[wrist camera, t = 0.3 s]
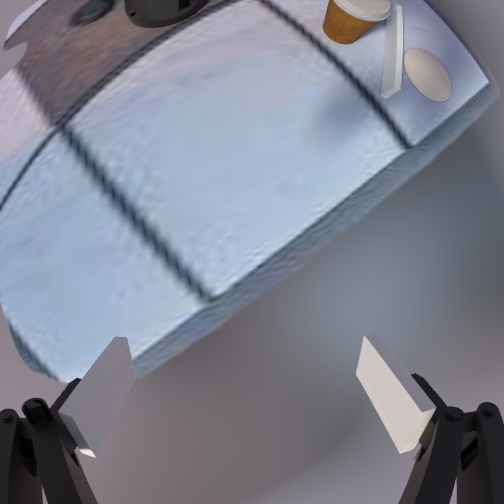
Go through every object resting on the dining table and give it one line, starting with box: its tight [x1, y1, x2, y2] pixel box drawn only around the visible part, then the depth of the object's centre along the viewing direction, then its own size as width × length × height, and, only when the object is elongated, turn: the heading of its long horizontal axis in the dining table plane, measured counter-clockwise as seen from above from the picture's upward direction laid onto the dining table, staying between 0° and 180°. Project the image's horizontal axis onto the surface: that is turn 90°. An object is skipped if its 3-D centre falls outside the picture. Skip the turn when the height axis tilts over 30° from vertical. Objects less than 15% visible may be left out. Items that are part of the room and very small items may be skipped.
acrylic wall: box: [381, 3, 403, 99], centre depth 33 cm, size 22×1×5 cm, turn 166°
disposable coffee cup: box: [323, 0, 390, 44], centre depth 29 cm, size 10×10×12 cm
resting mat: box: [403, 48, 452, 102], centre depth 36 cm, size 12×12×1 cm
